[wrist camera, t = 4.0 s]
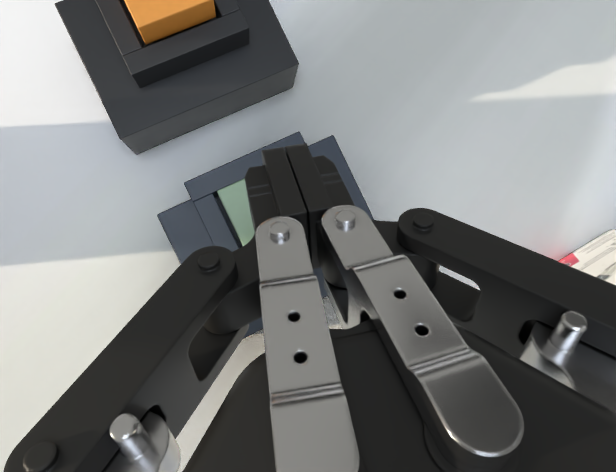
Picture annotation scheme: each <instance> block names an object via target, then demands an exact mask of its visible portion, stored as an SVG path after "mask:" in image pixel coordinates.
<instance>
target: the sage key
mask: <svg viewBox="0 0 616 472" xmlns="http://www.w3.org/2000/svg"><path fill="white" fill-rule="evenodd" d="M217 193H218V195H219V197H220V199H221V201H222V204H223V206H224V208H225V210H226V212H227V214H228V216H229V218H230V220H231V222H232V224H233V226H234V228H235V230H236V232H237V235H238V237H239V239H240V241H241V243H242V245H243V246H244V245H246V244H247V243H248V242H249V241H250V240H251V239H252V238H253V236H254V233H255V232H254V227H253V223H252V218H251V213H250V208H249V202H248V196H247V190H246V184H245V178H244V179H242V180H240V181H238V182H236V183H233V184H231V185H229V186H227V187H225V188H222V189H220V190H218V191H217Z"/></svg>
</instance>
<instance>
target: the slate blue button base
mask: <svg viewBox="0 0 616 472" xmlns="http://www.w3.org/2000/svg"><path fill="white" fill-rule="evenodd" d="M303 143H305V142H304V140H303V138H302V136H301V134H300V132H297V133H294V134H292V135H290V136H288V137H285V138H283V139H281V140H279V141H277V142H274V143H272V144H270V145H268V146H265V147H263V148H261V149H259V150H256V151H254V152H252V153H250V154H247V155H245V156H243V157H241V158H238V159H236V160H234V161H232V162H229V163H227V164H225V165H223V166H220V167H218V168H216V169H214V170H211V171H209V172H207V173H205V174H202V175H200V176H198V177H196V178H193V179H191V180H189V181H187V182H185V183H184V185H185V187H186V189H187V191H188V193H189V195H190V197H191V199H190V200H188V201H186V202H184V203H181V204H179V205H177V206H175V207H173V208H170V209H168V210H166V211H164V212H161V213H159V214H158V215H157V216H158V218H159V220H160V222H161V224H162V227H163V229H164V231H165V233H166V235H167V237H168V239H169V241H170V243H171V245H172V247H173V249H174V251H175V253H176V255H177V257H178V260H179V262H180V264H182V263H183V262H184V261H185V260H186V258H187V257H188V256H189V255H190V254H192V253H193V252H194V251H196V250H198V249H201V248H203V247H207V246H221V247H225V248H227V249H229V250H230V251H231V252H233V251H235V250H237V249H239V248H241V247H243V245H242V243H241V241H240V239H239V237H238V235H237V232H236V230H235V228H234V226H233V224H232V222H231V220H230V218H229V216H228V214H227V212H226V210H225V208H224V206H223V204H222V201H221V199H220V197H219V195H218V193H217V191H218V190H220V189H222V188H225V187H227V186H229V185H231V184H233V183H236V182H238V181H240V180H242V179H244V177H245V175H246V173H247V171H248V168H250V167H256V166H262V165H263V162H262V153H261V150H266V149H273V148H279V147H283V148H284V147H285V146H291V145H297V144H303ZM308 148H309V151H310V153H311V155H312V157H316V156H322V155H324V156H325V157H327V158H328V159H329V160H331V161H332V162H334V164H335V166H336V168H337V170H338V173H339V174H340V176H341V178H342V181H343V182H344V184H345V186H346V188H347V190H348V192H349V194H350V196H351V198H352V200H353V202H354V204H355V206H356V207H358V208H361V209H362V210H364V211H365V212H366V213H367V214H368V216H369V217H370V219H373V217H372V214H371V212H370V210H369V208H368V206H367V204H366V202H365V200H364V198H363V196H362V194H361V192H360V190H359V187H358V185H357V183H356V181H355V179H354V177H353V175H352V173H351V171H350V169H349V167H348V165H347V163H346V160H345V158H344V156H343V154H342V152H341V150H340V148H339V146H338V144H337V142H336V140H335V138H334V136H333V135H332V136H330V137H327V138H325V139H323V140H321V141H318V142H316V143H314V144H312V145H310V146H308ZM373 220H374V219H373ZM313 273H314V275H316V276H317V279H318V283H319V288H320V292H321V297H322V298H324V297H326V296H328V295H327V293H326V290H325V288H324V279H323V272H322V269H321V267H320V268H315V269H313ZM261 329H263V321H262V317H261V318H259V319H257V320H255V321H253V322H251V323H249V328H248V331H247V332H246V334H245V336H244V337H243V338H245V337H247V336H249V335H251V334H253V333H255V332H257V331H259V330H261Z"/></svg>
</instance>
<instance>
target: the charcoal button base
mask: <svg viewBox="0 0 616 472" xmlns="http://www.w3.org/2000/svg"><path fill="white" fill-rule="evenodd" d="M55 6H56V8H57V10H58V12H59V14H60V16H61V18H62V20H63V22H64V25H65V27H66V29H67V31H68V33H69V35H70V37H71V39H72V41H73V43H74V45H75V47H76V49H77V51H78V53H79V55H80V58H81V60H82V62H83V64H84V66H85V68H86V70H87V72H88V74H89V76H90V78H91V80H92V82H93V84H94V86H95V88H96V91H97V93H98V95H99V97H100V99H101V101H102V103H103V105H104V107H105V109H106V111H107V113H108V115H109V117H110V119H111V121H112V124H113V126H114V128H115V130H116V132H117V134H118V136H119V138H120V139H121V140H122V141H123V142H124V143H125V144H126V145H127V146H128V147H129V148H130V149H131V150H132V151H133V152H134V153H135V154H139V153H141V152H143V151H146V150H148V149H150V148H153V147H155V146H157V145H160V144H162V143H164V142H167V141H169V140H171V139H174V138H176V137H178V136H181V135H183V134H185V133H188V132H190V131H192V130H195V129H197V128H199V127H202V126H204V125H206V124H209V123H211V122H213V121H216V120H218V119H220V118H223V117H225V116H227V115H230V114H232V113H234V112H237V111H239V110H241V109H244V108H246V107H248V106H251V105H253V104H255V103H258V102H260V101H262V100H265V99H267V98H269V97H272V96H274V95H276V94H279V93H281V92H283V91H285V90H288V89H290V88H292V87H293V84H294V80H295V77H296V73H297V69H298V65H299V63H298V61H297V59H296V56H295V54H294V52H293V50H292V48H291V46H290V44H289V42H288V40H287V38H286V36H285V34H284V32H283V30H282V27H281V25H280V23H279V21H278V19H277V17H276V15H275V13H274V11H273V9H272V7H271V5H270V3H269V0H214V6H215V14H216V17H215V18H213V19H210V20H208V21H205V22H203V23H200V24H197V25H195V26H192V27H190V28H187V29H185V30H182V31H180V32H177V33H175V34H172V35H170V36H167V37H164V38H162V39H159V40H157V41H154V42H152V43H149V44H145V42H144V40H143V38H142V36H141V34H140V32H139V30H138V28H137V26H136V24H135V22H134V20H133V18H132V15H131V13H130V11H129V9H128V7H127V5H126V3H125V1H124V0H63V1H60V2H57V3H55Z"/></svg>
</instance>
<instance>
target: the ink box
mask: <svg viewBox="0 0 616 472" xmlns="http://www.w3.org/2000/svg"><path fill="white" fill-rule="evenodd" d="M558 262H560V263H563V264H565V265H568V266H570V267H573V268H575V269H578V270H580V271H582V272H585V273H587V274H590V275H592V276H595V277H597V278H600V279H602V280H604V281H607V282H609V283H612V284H614V285H616V230H609V231H607V232H606V233H604V234H602V235H601V236H599V237H597V238H595V239H594V240H592V241H590V242H589V243H587V244H585V245H584V246H582V247H581V248H579V249H577V250H576V251H574V252H572V253H571V254H569V255H568V256H566V257H564V258H563V259H561V260H559V261H558Z"/></svg>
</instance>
